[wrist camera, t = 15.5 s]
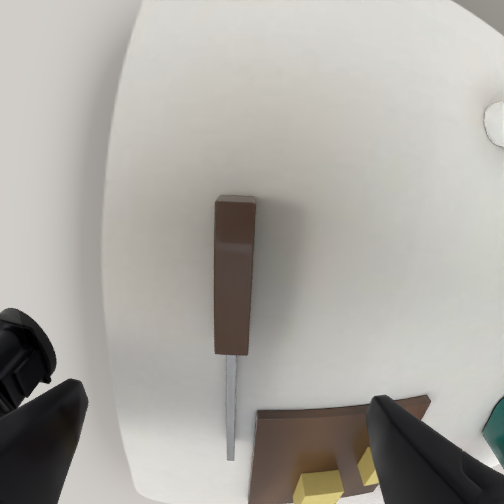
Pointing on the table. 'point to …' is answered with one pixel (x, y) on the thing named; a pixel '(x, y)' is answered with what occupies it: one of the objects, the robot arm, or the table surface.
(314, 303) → the table surface
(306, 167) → the table surface
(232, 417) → the brown and silver rod
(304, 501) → the butter stick
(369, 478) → the butter pat
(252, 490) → the butter board
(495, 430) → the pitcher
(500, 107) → the milkshake
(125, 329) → the table surface
